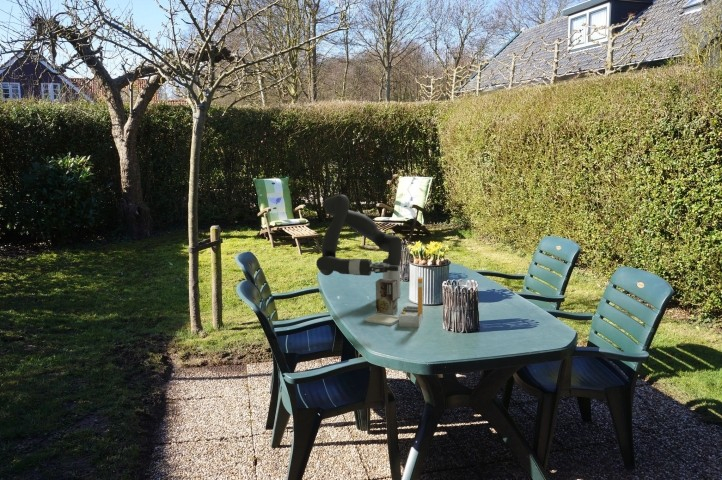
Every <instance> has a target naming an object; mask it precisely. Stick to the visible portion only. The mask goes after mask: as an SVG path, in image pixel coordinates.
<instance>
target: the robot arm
mask: <svg viewBox="0 0 722 480" xmlns="http://www.w3.org/2000/svg"><path fill="white" fill-rule="evenodd" d="M323 208H324V210H325V212H326V213H327V214H328V215H329V216H331V217H333V219H332V220H331V221H332V222H330V225H329V226H328V227H327V229H326V231H325V233H324V236H323V239H322V243H321V249H320V250H321V251H320V252H321V253H322V254H321V255H322V256H320V257H319V258H318V259H317V260H316V268H317V269H318V270H319V271H320V273H321V274H322V275H324V276H330V275H332V274H333V272H336V273H339V274H341V275H352V276H371V275H372V273H375V274H382V279H392V280H397V299H399V298H401V285H402V283H401V279H402V278H401V261H402V257H403V256H402V255H403V241H402V238H401V237H400V236H398V235H393V234H387V233H386V232H383V231H382V230H380V229H379V228H378V227H377V226H378V225H377V223H375V221H373V219H371V218H370V217H369V216H368V215H366V214H364V213H360V212H358V211H353V210H350V200H349V198H348V196H347V195H345V194H336V195H332V196H330V197H328V198H326V199H324V202H323ZM344 224H345V225H347V226H348V227H349V228H352V229H353V230H355V232H357V233H358V234H359V235H361V236H363V237H364V238H366V239H367V240H369V241H371V242H373V243H374V244H375V245H376V246H377V247H378V248H379V249H380V250H381V251H383V252H386V253H388V255H387V258H384V259H383V260H382V261H380V262H374V263H372V260H371V259H370V258H340V257H336V253H337V248H338V244H339V239H340V234H341V231H342V228H343V226H344Z"/></svg>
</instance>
